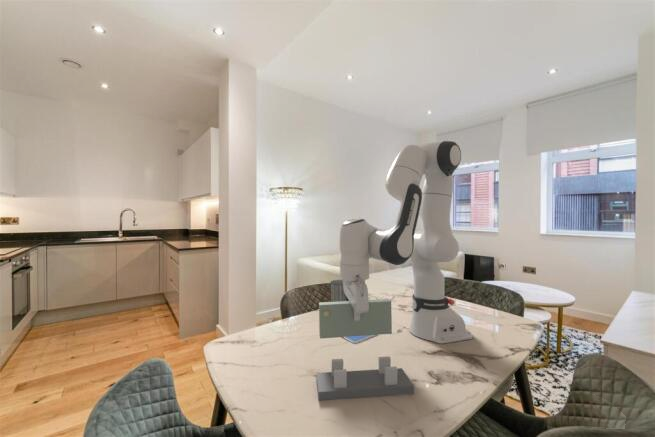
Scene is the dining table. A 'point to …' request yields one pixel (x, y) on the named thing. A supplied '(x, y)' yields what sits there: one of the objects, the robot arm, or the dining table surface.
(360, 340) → the tablet computer
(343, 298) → the milk frother
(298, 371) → the dining table surface
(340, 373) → the hinge base
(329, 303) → the cabinet door
